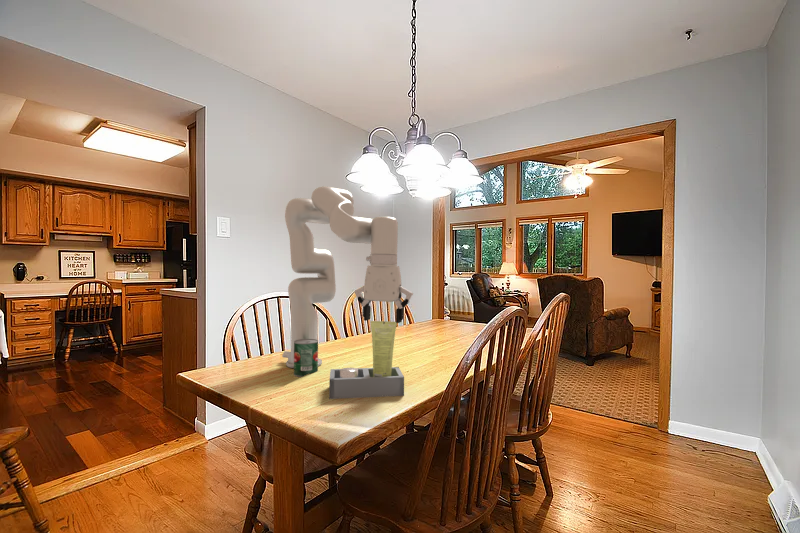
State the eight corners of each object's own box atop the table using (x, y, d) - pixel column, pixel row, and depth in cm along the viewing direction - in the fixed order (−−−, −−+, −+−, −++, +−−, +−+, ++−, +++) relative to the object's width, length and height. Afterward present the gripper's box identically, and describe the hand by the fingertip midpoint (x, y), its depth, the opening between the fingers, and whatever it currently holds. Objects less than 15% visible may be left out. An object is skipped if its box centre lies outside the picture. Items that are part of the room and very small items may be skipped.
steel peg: (336, 393, 106) (336, 371, 106) (344, 387, 111) (344, 367, 111) (353, 395, 104) (353, 373, 104) (360, 389, 109) (360, 368, 109)
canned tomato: (289, 373, 129) (289, 340, 128) (310, 369, 134) (310, 337, 134) (300, 378, 123) (301, 344, 123) (322, 374, 128) (322, 341, 128)
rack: (329, 402, 102) (329, 379, 102) (330, 389, 112) (330, 369, 112) (404, 399, 105) (404, 377, 105) (398, 387, 115) (398, 367, 115)
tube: (385, 385, 113) (386, 319, 113) (396, 389, 109) (397, 321, 109) (369, 389, 110) (370, 320, 110) (380, 393, 106) (381, 322, 106)
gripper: (350, 260, 108) (349, 321, 108) (409, 261, 103) (407, 325, 103) (361, 260, 115) (360, 317, 116) (416, 261, 110) (415, 321, 110)
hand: (382, 321), depth 109 cm, fingers open, 9 cm apart
